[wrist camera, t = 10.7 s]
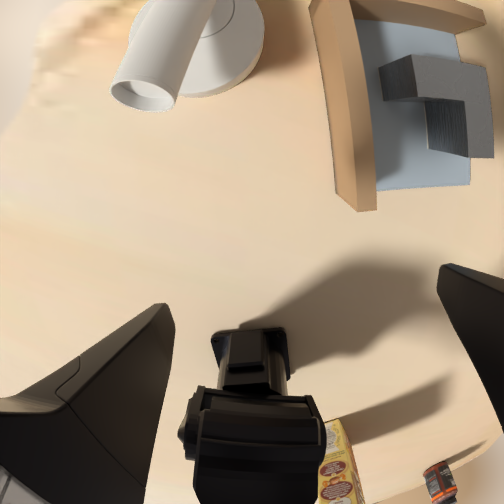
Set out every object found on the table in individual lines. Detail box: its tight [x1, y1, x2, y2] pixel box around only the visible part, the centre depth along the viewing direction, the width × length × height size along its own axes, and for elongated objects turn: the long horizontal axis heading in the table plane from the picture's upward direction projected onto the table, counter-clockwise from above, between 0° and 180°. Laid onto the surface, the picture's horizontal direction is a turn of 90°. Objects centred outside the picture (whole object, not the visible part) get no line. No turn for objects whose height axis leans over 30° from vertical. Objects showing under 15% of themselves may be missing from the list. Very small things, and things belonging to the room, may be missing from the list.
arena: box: [308, 0, 487, 212], centre depth 15 cm, size 14×12×5 cm
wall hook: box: [109, 0, 264, 112], centre depth 12 cm, size 9×10×10 cm
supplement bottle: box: [423, 462, 457, 504], centre depth 37 cm, size 6×6×11 cm
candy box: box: [318, 419, 365, 504], centre depth 26 cm, size 9×4×15 cm, turn 25°
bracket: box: [378, 54, 494, 158], centre depth 15 cm, size 6×6×5 cm
